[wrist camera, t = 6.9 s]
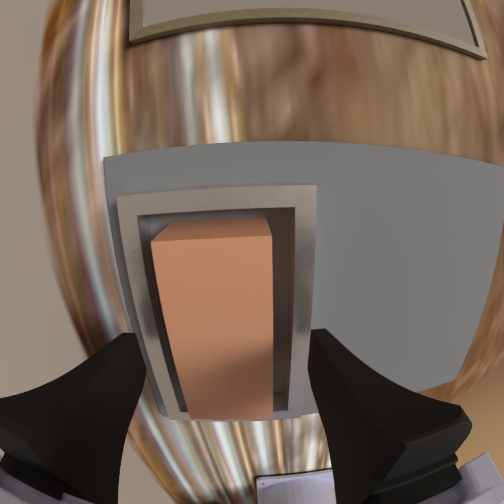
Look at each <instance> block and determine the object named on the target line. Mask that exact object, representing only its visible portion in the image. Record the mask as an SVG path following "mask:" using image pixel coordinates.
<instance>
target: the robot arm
mask: <svg viewBox="0 0 504 504" xmlns="http://www.w3.org/2000/svg"><path fill="white" fill-rule="evenodd" d="M307 369H308V374H309V380H310V385H311V389H312V392H313V396H314V399H315V402H316V405H317V408H318V411H319V414H320V417H321V420H322V423H323V426H324V430H325V433H326V437H327V442H328V448H329V453H330V459H331V465H332V469H329V470H323V471H316V472H310V473H302V474H293V475H283V476H270V477H259V478H257V479H256V483H257V497H258V504H503V503H504V481H503V479H502V477H501V476H500V473H499V472H498V470H497V468H496V466H495V464H494V463H493V461H492V460H491V458H490V456H489V454H488V453H487V452H485V453H483V454H481V455H480V456H478V457H476V458H475V459H473V460H471V461H469V462H467V463H466V464H464V465H463V466H461V467H460V468H459V469H457V467H456V465H455V463H456V462H457V461H458V458H457V456H456V454H455V452H456V451H457V450H458V448H459V447H460V446H461V445H462V443H463V442H464V441H465V440H466V438H467V437H468V435H469V434H470V431H471V428H472V423H471V421H470V419H469V418H468V416H467V415H466V414H465V412H464V410H463V409H462V408H461V406H460V405H455V404H451V403H447V402H443V401H439V400H435V399H432V398H429V397H426V396H423V395H421V394H418V393H416V392H413V391H411V390H409V389H407V388H405V387H402V386H400V385H398V384H396V383H395V382H393V381H391V380H389V379H388V378H386V377H384V376H383V375H381V374H379V373H378V372H376V371H375V370H373V369H372V368H371V367H369V366H368V365H367V364H365V363H364V362H363V361H361V360H360V359H359V358H358V357H356V356H355V355H354V354H353V353H352V352H350V351H349V350H348V349H347V348H346V347H345V346H344V345H343V344H342V343H341V342H339V341H338V340H337V339H336V338H335V337H334V336H333V335H332V334H331V333H330V332H329V331H328V330H327V329H326V328H323V329H312V330H311V333H310V345H309V355H308V365H307ZM146 371H147V368H146V365H145V362H144V359H143V356H142V353H141V349H140V346H139V343H138V339H137V336H136V333H122V334H120V335H119V336H118V337H116V338H115V339H113V340H112V341H111V342H109V343H108V344H107V345H106V346H104V347H103V348H102V349H100V350H99V351H98V352H96V353H95V354H94V355H92V356H91V357H90V358H88V359H87V360H85V361H84V362H83V363H81V364H80V365H78V366H77V367H76V368H74V369H73V370H71V371H69V372H68V373H66V374H64V375H63V376H61V377H59V378H57V379H56V380H53V381H51V382H49V383H47V384H44V385H42V386H40V387H38V388H35V389H33V390H30V391H27V392H24V393H20V394H17V395H13V396H9V397H4V398H0V448H1V449H2V450H3V451H4V452H5V454H4V456H3V457H1V456H0V504H118V484H119V474H120V466H121V459H122V453H123V448H124V443H125V438H126V434H127V431H128V428H129V425H130V422H131V419H132V417H133V414H134V411H135V408H136V406H137V403H138V400H139V398H140V395H141V392H142V389H143V385H144V381H145V376H146ZM334 487H335V492H334Z"/></svg>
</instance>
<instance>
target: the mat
mask: <svg viewBox="0 0 504 504" xmlns="http://www.w3.org/2000/svg"><path fill="white" fill-rule="evenodd" d="M104 169H105V181H106V191H107V200H108V208H109V216H110V223H111V229H112V236H113V242H114V248H115V253H116V259H117V264H118V269H119V274H120V278H121V283H122V288H123V292H124V296H125V300H126V305H127V309H128V312H129V316H130V320H131V324H132V327H133V331H134V333H136V336H137V339H138V343H139V346H140V349H141V353H142V356H143V359H144V362H145V365H146V368H147V371H146V373H147V376H148V379H149V382H150V385H151V387H152V390H153V393H154V396H155V398H156V401H157V404H158V406H159V409H160V411H161V414H162V416H166V417H169V415H168V413H167V410H166V407H165V405H164V402H163V399H162V396H161V393H160V390H159V388H158V385H157V382H156V379H155V376H154V372H153V369H152V366H151V363H150V360H149V356H148V353H147V349H146V346H145V342H144V339H143V335H142V332H141V328H140V324H139V320H138V316H137V312H136V308H135V304H134V299H133V295H132V290H131V286H130V281H129V276H128V271H127V266H126V261H125V255H124V249H123V243H122V237H121V231H120V224H119V216H118V209H117V200H116V197H118V196H120V195H123V194H126V193H128V192H133V191H142V190H152V189H162V188H173V187H185V186H199V185H214V184H233V183H257V182H310V183H312V184H315V185H316V244H315V269H314V288H313V303H312V317H311V330H312V329H323V328H326V329H327V330H328V331H329V332H330V333H331V334H332V335H333V336H334V337H335V338H336V339H337V340H338V341H339V342H341V343H342V344H343V345H344V346H345V347H346V348H347V349H348V350H349V351H350V352H352V353H353V354H354V355H355V356H356V357H358V358H359V359H360V360H361V361H363V362H364V363H365V364H367V365H368V366H369V367H371V368H372V369H373V370H375V371H376V372H378V373H379V374H381V375H383V376H384V377H386V378H388V379H389V380H391V381H393V382H395V383H396V384H398V385H400V386H402V387H405V388H407V389H409V390H411V391H413V392H419V391H422V390H426V389H429V388H432V387H435V386H438V385H441V384H444V383H447V382H450V381H453V380H455V379H456V377H457V375H458V373H459V371H460V369H461V366H462V364H463V362H464V360H465V357H466V355H467V353H468V350H469V348H470V345H471V343H472V340H473V338H474V335H475V332H476V330H477V327H478V324H479V321H480V318H481V315H482V312H483V309H484V306H485V303H486V299H487V296H488V293H489V289H490V285H491V282H492V278H493V274H494V269H495V265H496V260H497V256H498V251H499V245H500V240H501V234H502V227H503V220H504V167H502V166H498V165H494V164H490V163H486V162H481V161H477V160H472V159H467V158H462V157H457V156H452V155H446V154H440V153H434V152H428V151H421V150H414V149H406V148H398V147H389V146H379V145H368V144H355V143H339V142H314V141H257V142H232V143H216V144H202V145H191V146H180V147H171V148H163V149H155V150H147V151H140V152H133V153H127V154H121V155H115V156H109V157H104ZM149 216H150V224H151V232H152V240H153V239H154V238H155V237H156V236H157V235H158V234H159V233H160V232H161V231H162V230H163V229H164V228H165V227H166V226H167V225H168V224H170V223H171V222H172V221H185V220H201V219H218V218H237V217H260V216H265V217H266V219H267V222H268V225H269V228H270V231H271V234H272V263H273V393H281V392H285V380H286V359H287V333H288V299H289V207H276V208H248V209H226V210H207V211H190V212H175V213H161V214H149ZM311 330H310V333H311ZM309 345H310V342H309ZM308 355H309V352H308ZM307 365H308V362H307ZM313 413H319V411H318V408H317V405H316V402H315V399H314V396H313V392H312V389H311V385H310V380H309V374H308V369H307V372H306V381H305V389H304V398H303V405H302V413H301V415H305V414H313Z"/></svg>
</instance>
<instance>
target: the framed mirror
mask: <svg viewBox="0 0 504 504" xmlns="http://www.w3.org/2000/svg"><path fill="white" fill-rule="evenodd" d="M269 22H306V23H325V24H337V25H347V26H355V27H362V28H369V29H375V30H381V31H386V32H391V33H396V34H401V35H405V36H409V37H413V38H417V39H421V40H425V41H428V42H432V43H435V44H438V45H442V46H445V47H448V48H451V49H454V50H457V51H459V52H462V53H465V54H467V55H470V56H473V57H475V58H477V59H480V60H486V59H488V57H487V53H486V49H485V46H484V42H483V39H482V36H481V32H480V29H479V26H478V23H477V20H476V17H475V15H474V12H473V9H472V7H471V4H470V2H469V0H130V21H129V41H130V42H131V43H132V44H137V43H140V42H144V41H148V40H151V39H155V38H159V37H164V36H168V35H172V34H177V33H182V32H187V31H193V30H199V29H205V28H212V27H219V26H228V25H237V24H250V23H269Z"/></svg>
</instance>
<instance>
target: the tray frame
mask: <svg viewBox="0 0 504 504" xmlns="http://www.w3.org/2000/svg"><path fill="white" fill-rule="evenodd" d="M116 200H117V209H118V216H119V224H120V231H121V237H122V243H123V249H124V255H125V261H126V266H127V271H128V276H129V281H130V286H131V290H132V295H133V299H134V304H135V308H136V312H137V316H138V320H139V324H140V328H141V332H142V335H143V339H144V342H145V346H146V349H147V353H148V356H149V360H150V363H151V366H152V369H153V372H154V376H155V379H156V382H157V385H158V388H159V390H160V393H161V396H162V399H163V402H164V405H165V407H166V410H167V413H168V415H169V418H170V419H173V420H189V421H263V420H278V419H290V418H300V417H301V413H302V405H303V398H304V389H305V381H306V372H307V362H308V352H309V342H310V330H311V317H312V303H313V288H314V269H315V244H316V185H315V184H312V183H310V182H257V183H233V184H214V185H199V186H185V187H173V188H162V189H152V190H142V191H133V192H128V193H126V194H123V195H120V196H118V197H116ZM276 207H289V299H288V333H287V359H286V380H285V392H281V393H273V418H263V419H235V420H212V419H191V418H190V415H189V412H188V409H187V405H186V402H185V399H184V395H183V392H182V388H181V385H180V381H179V378H178V374H177V370H176V366H175V362H174V358H173V354H172V350H171V346H170V342H169V338H168V333H167V329H166V325H165V320H164V315H163V310H162V305H161V300H160V295H159V290H158V285H157V279H156V273H155V267H154V261H153V255H152V248H151V241H152V232H151V224H150V216H149V214H161V213H175V212H190V211H207V210H226V209H248V208H276Z"/></svg>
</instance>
